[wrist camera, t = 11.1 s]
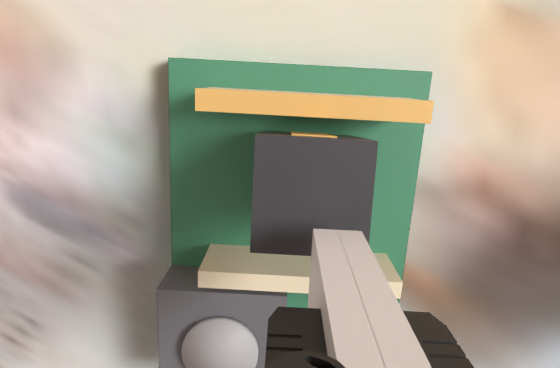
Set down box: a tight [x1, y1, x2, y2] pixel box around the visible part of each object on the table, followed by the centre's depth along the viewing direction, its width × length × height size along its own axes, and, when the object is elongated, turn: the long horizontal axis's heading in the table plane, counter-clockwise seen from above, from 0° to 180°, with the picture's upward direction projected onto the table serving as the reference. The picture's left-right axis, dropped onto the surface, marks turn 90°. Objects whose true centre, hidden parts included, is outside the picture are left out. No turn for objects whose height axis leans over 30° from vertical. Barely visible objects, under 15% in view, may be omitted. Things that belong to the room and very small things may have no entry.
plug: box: [250, 131, 378, 256], centre depth 16 cm, size 4×4×6 cm
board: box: [157, 58, 434, 368], centre depth 19 cm, size 17×12×5 cm
